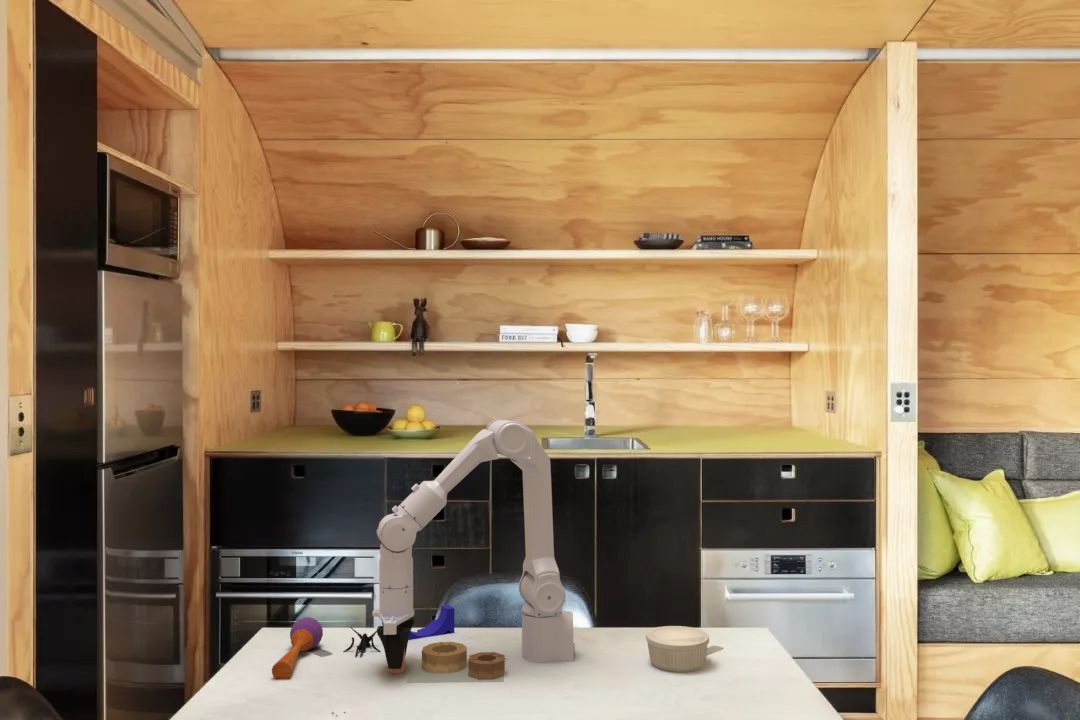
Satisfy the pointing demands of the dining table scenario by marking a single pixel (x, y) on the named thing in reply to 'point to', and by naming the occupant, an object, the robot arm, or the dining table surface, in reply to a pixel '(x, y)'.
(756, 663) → the dining table surface
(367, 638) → the creature
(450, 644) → the oak bead
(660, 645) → the ramekin
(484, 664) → the walnut bead
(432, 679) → the board
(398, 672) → the orange rounded peg
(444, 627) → the blue curved cradle
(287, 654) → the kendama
